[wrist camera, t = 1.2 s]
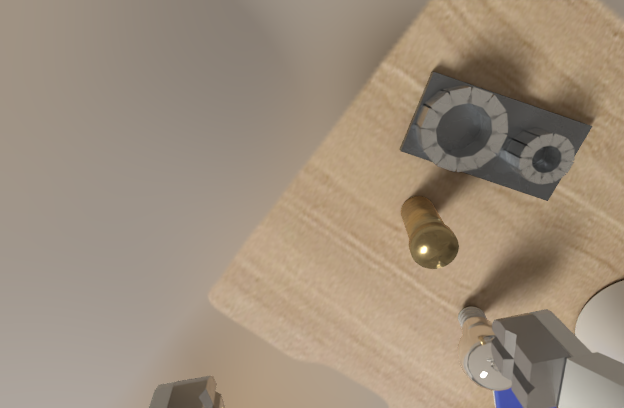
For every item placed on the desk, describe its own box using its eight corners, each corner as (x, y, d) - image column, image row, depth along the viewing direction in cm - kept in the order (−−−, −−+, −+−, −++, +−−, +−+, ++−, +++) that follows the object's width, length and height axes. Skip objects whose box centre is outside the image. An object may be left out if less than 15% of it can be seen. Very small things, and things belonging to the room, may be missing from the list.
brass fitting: (442, 200, 45) (466, 235, 36) (427, 233, 47) (446, 274, 38) (407, 188, 45) (421, 220, 36) (392, 221, 47) (403, 260, 38)
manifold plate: (586, 125, 41) (613, 131, 37) (543, 198, 44) (563, 212, 40) (431, 71, 40) (441, 72, 36) (399, 149, 44) (404, 158, 39)
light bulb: (494, 285, 49) (537, 351, 37) (496, 329, 51) (538, 403, 40) (439, 292, 50) (464, 358, 39) (444, 334, 52) (470, 408, 41)
